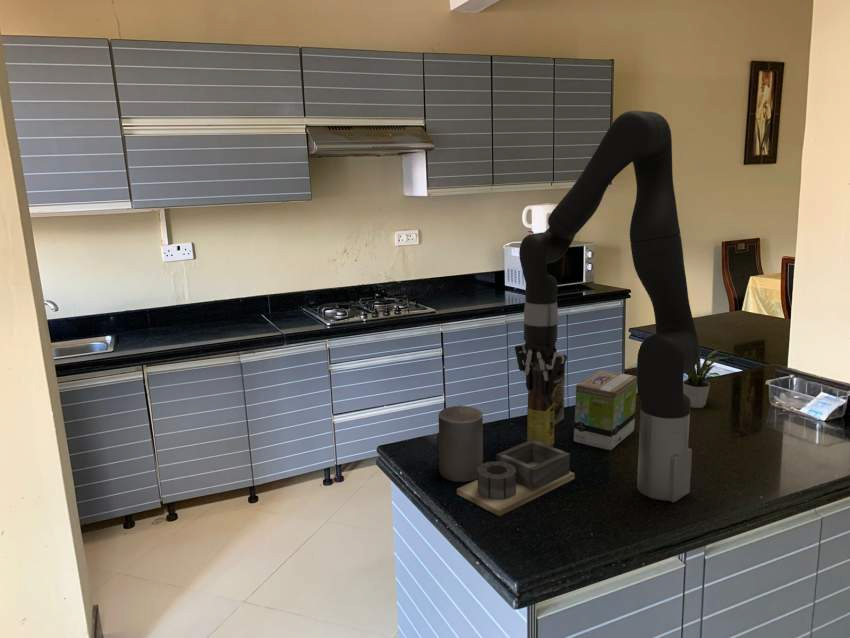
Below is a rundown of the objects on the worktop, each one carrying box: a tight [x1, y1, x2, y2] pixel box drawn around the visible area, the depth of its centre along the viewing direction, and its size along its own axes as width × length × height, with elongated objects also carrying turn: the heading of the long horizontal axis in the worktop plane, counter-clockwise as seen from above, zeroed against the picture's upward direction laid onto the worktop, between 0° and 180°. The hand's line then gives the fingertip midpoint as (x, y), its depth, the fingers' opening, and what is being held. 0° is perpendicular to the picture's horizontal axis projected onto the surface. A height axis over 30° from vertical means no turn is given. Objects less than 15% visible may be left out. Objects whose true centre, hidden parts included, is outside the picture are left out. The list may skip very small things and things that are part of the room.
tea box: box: [573, 369, 637, 451], centre depth 157 cm, size 15×10×15 cm, turn 143°
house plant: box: [683, 349, 729, 409], centre depth 176 cm, size 14×14×16 cm
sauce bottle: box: [526, 366, 555, 447], centre depth 150 cm, size 6×6×20 cm
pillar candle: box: [438, 405, 484, 483], centre depth 140 cm, size 10×10×15 cm
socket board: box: [456, 439, 576, 517], centre depth 134 cm, size 12×23×6 cm, turn 130°
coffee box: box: [527, 358, 566, 426], centre depth 167 cm, size 9×6×16 cm
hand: (539, 392), depth 150 cm, fingers closed on sauce bottle, 4 cm apart
